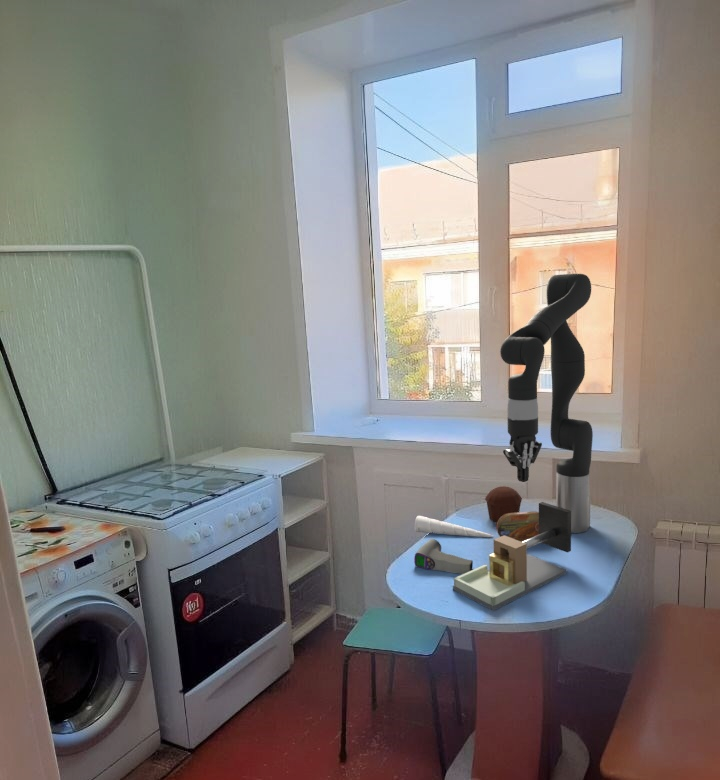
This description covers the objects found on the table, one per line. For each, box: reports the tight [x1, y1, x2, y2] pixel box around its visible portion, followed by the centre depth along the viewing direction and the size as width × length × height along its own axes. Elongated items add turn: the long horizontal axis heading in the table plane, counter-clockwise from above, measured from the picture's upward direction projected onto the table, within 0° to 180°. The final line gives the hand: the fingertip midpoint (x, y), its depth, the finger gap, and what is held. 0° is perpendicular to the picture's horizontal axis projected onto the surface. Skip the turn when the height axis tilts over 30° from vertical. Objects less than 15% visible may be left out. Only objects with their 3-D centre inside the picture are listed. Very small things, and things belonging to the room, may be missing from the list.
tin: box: [496, 510, 539, 542], centre depth 174 cm, size 15×3×8 cm, turn 92°
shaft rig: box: [452, 535, 567, 612], centre depth 150 cm, size 28×13×11 cm, turn 126°
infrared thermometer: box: [414, 538, 473, 575], centre depth 163 cm, size 5×12×15 cm
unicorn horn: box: [413, 515, 495, 538], centre depth 180 cm, size 5×24×5 cm, turn 66°
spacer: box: [488, 552, 514, 586], centre depth 148 cm, size 2×6×6 cm, turn 36°
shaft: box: [506, 501, 572, 556], centre depth 154 cm, size 19×9×11 cm, turn 126°
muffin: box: [484, 485, 523, 523], centre depth 190 cm, size 12×11×10 cm
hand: (523, 480), depth 156 cm, fingers closed
